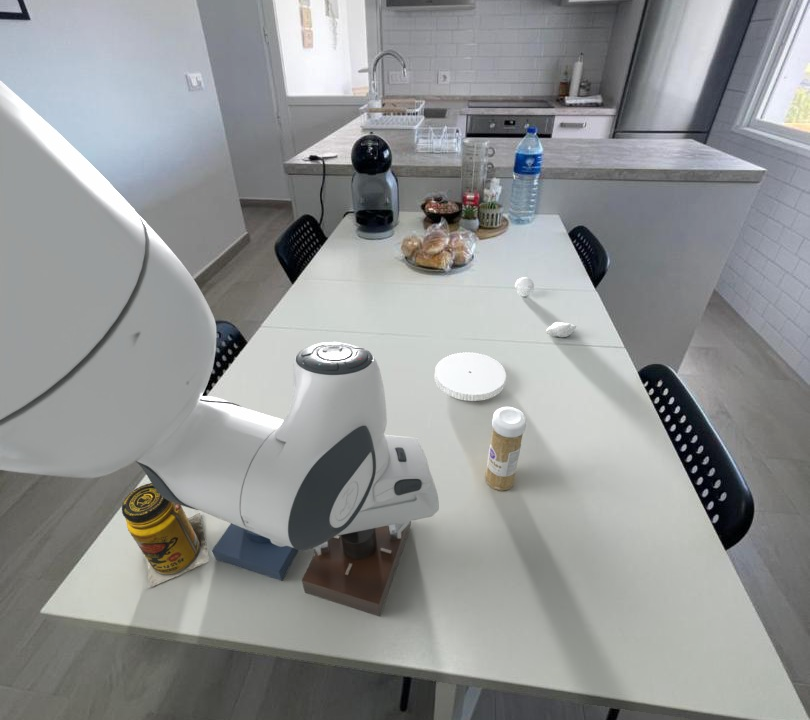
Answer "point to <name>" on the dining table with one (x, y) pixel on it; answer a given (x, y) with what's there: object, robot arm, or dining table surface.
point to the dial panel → (356, 573)
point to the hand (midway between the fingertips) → (359, 542)
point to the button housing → (253, 552)
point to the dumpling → (561, 329)
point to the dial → (359, 543)
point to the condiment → (164, 534)
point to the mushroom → (524, 286)
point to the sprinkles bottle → (504, 447)
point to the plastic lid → (470, 376)
